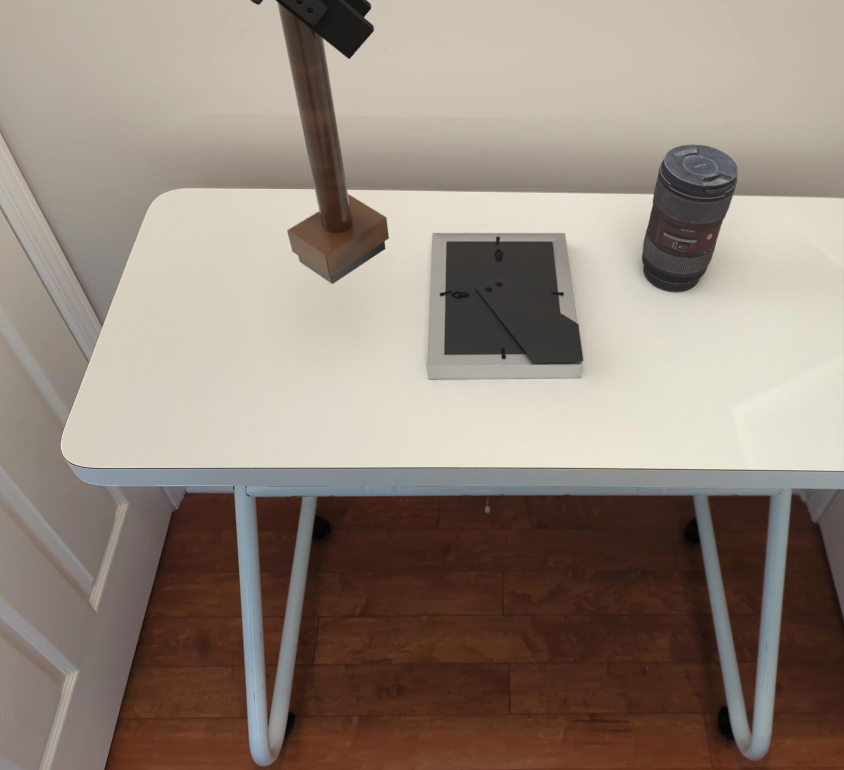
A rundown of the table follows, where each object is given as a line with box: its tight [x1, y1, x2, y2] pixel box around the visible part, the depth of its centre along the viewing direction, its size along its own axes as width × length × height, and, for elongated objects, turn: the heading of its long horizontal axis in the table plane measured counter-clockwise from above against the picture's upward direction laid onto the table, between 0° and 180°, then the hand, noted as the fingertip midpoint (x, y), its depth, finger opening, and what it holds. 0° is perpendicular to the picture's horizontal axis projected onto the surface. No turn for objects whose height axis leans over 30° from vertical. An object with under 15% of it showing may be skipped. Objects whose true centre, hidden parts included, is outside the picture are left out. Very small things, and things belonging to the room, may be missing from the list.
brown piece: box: [276, 1, 390, 285], centre depth 52 cm, size 7×5×40 cm
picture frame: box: [426, 232, 584, 380], centre depth 83 cm, size 16×3×21 cm
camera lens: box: [641, 143, 739, 293], centre depth 83 cm, size 8×8×15 cm
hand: (359, 30), depth 53 cm, fingers closed on brown piece, 3 cm apart
